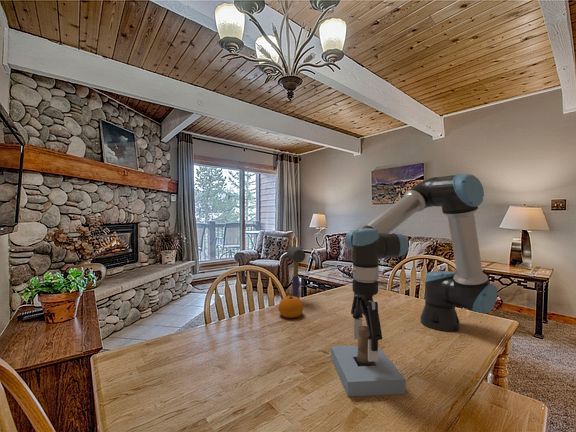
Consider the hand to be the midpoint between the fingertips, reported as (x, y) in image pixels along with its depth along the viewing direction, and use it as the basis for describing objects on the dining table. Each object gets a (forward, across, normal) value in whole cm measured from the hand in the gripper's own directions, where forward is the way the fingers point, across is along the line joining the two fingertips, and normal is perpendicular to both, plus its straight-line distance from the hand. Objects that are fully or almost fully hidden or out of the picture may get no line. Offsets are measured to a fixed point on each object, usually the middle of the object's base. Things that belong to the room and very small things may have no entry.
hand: (364, 349), depth 88 cm
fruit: (+8, -50, -18) cm, 54 cm away
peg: (+8, 0, 0) cm, 8 cm away
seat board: (+8, 0, 0) cm, 8 cm away
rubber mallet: (+8, -67, -14) cm, 69 cm away
